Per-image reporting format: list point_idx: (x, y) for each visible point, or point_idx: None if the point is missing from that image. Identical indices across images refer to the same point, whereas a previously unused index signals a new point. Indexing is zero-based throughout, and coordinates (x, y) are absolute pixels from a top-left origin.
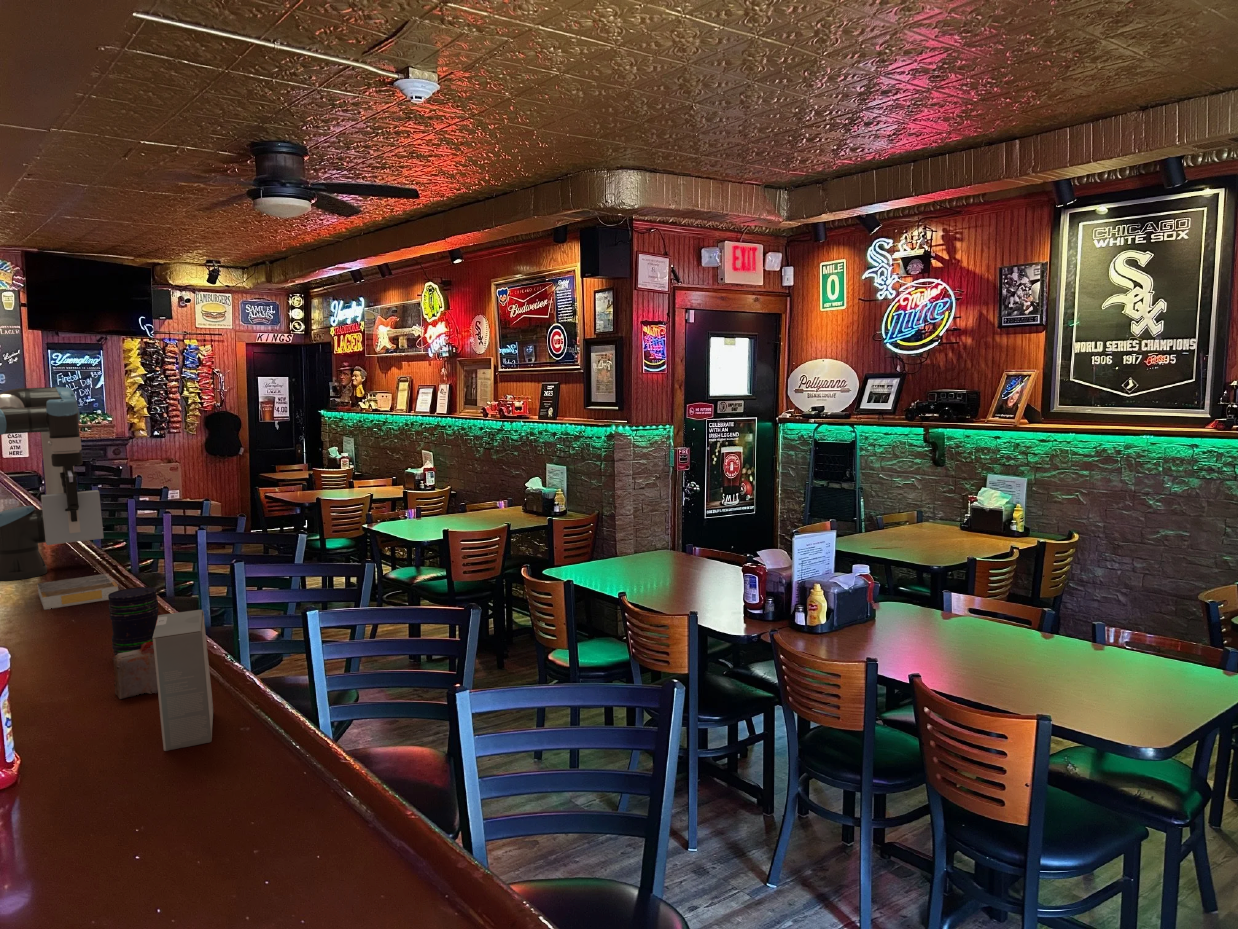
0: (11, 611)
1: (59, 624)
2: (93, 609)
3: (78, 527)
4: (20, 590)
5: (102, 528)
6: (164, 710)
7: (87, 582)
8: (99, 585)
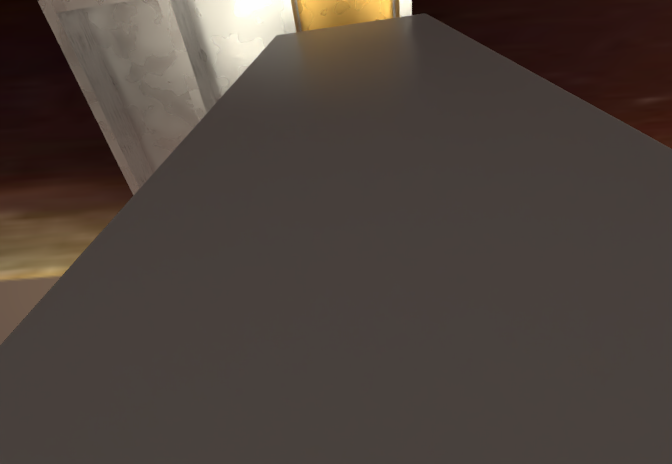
0: None
1: (661, 135)
2: (537, 43)
3: None
4: (74, 256)
5: (444, 27)
6: None
7: (198, 81)
8: (295, 31)
